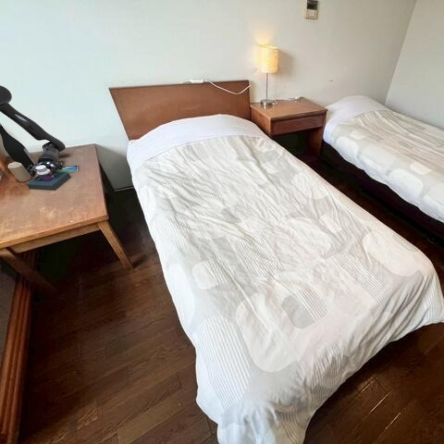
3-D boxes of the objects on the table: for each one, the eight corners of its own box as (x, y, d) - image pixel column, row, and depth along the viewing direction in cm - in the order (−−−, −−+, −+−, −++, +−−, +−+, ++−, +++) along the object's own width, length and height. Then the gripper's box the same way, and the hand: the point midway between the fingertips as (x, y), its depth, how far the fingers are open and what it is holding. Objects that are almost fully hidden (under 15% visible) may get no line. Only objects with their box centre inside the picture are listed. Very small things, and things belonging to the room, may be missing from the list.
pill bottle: (58, 183, 136) (48, 167, 130) (46, 186, 133) (34, 170, 127) (56, 178, 139) (45, 163, 132) (44, 182, 136) (32, 166, 129)
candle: (26, 175, 139) (13, 159, 132) (34, 177, 138) (22, 161, 131) (15, 180, 135) (2, 164, 128) (24, 182, 134) (11, 166, 127)
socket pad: (29, 188, 131) (25, 184, 129) (47, 175, 140) (44, 171, 138) (55, 190, 132) (51, 185, 130) (71, 177, 141) (68, 172, 139)
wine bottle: (32, 162, 149) (-5, 111, 128) (41, 166, 147) (4, 114, 126) (16, 168, 143) (-25, 115, 123) (25, 172, 141) (-16, 119, 121)
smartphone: (46, 170, 143) (77, 165, 150) (46, 171, 144) (78, 166, 150) (44, 176, 139) (77, 170, 145) (45, 177, 139) (78, 171, 146)
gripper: (28, 155, 135) (20, 170, 125) (60, 151, 141) (55, 165, 130) (36, 167, 140) (29, 182, 130) (67, 163, 146) (63, 177, 135)
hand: (42, 174), depth 130 cm, fingers open, 8 cm apart
